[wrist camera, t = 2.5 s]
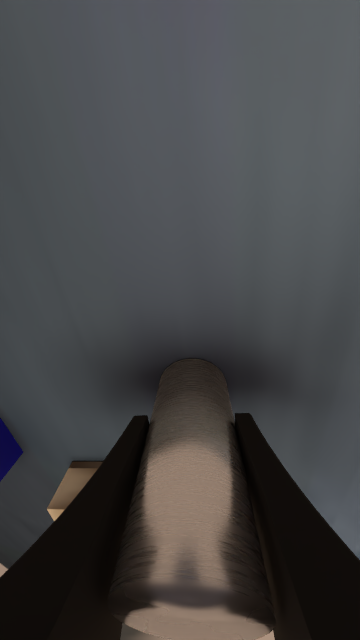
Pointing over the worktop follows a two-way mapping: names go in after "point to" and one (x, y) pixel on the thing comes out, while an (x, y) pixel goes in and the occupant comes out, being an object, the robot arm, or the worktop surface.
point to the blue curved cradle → (7, 450)
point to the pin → (192, 521)
